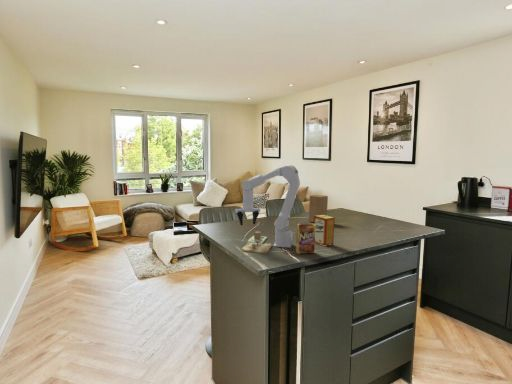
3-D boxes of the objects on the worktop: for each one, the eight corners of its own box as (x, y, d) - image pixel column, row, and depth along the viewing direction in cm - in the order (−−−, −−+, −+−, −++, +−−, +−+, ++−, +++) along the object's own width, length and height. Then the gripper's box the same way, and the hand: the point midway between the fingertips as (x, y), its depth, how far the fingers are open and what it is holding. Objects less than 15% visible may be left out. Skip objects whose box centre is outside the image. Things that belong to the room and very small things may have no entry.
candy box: (297, 254, 165) (298, 224, 163) (295, 251, 169) (296, 222, 167) (314, 254, 165) (315, 224, 164) (312, 251, 170) (313, 222, 168)
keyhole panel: (266, 238, 194) (267, 230, 194) (261, 244, 182) (262, 235, 181) (253, 237, 196) (253, 229, 196) (247, 242, 184) (247, 234, 183)
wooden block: (308, 222, 245) (309, 195, 242) (315, 220, 252) (316, 194, 250) (320, 224, 238) (321, 197, 236) (326, 222, 246) (328, 195, 243)
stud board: (272, 246, 178) (272, 240, 178) (266, 253, 165) (266, 246, 165) (248, 243, 181) (248, 238, 181) (241, 250, 168) (241, 244, 168)
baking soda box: (333, 245, 183) (334, 217, 182) (324, 246, 180) (326, 218, 178) (321, 241, 191) (322, 214, 190) (313, 242, 188) (314, 215, 186)
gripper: (257, 199, 192) (257, 222, 193) (233, 200, 187) (233, 223, 188) (261, 201, 185) (261, 224, 187) (237, 202, 180) (237, 226, 182)
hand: (247, 224), depth 187 cm, fingers open, 7 cm apart
